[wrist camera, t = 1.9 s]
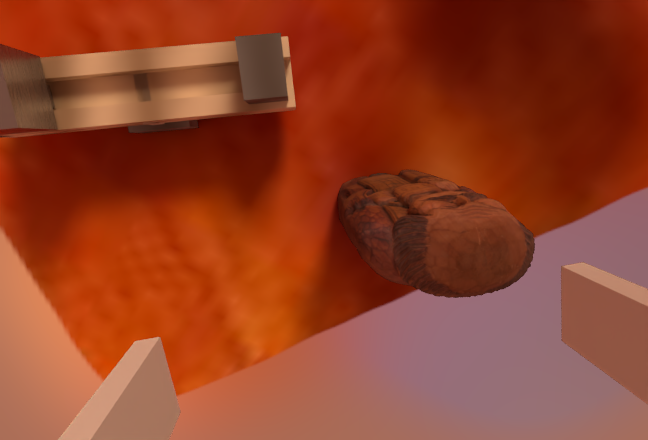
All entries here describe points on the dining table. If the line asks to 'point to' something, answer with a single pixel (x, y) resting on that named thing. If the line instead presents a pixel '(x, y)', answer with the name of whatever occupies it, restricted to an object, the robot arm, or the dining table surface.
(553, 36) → the dining table surface
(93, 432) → the robot arm
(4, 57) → the block
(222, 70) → the beam
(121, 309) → the dining table surface
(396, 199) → the wooden figurine
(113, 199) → the dining table surface
